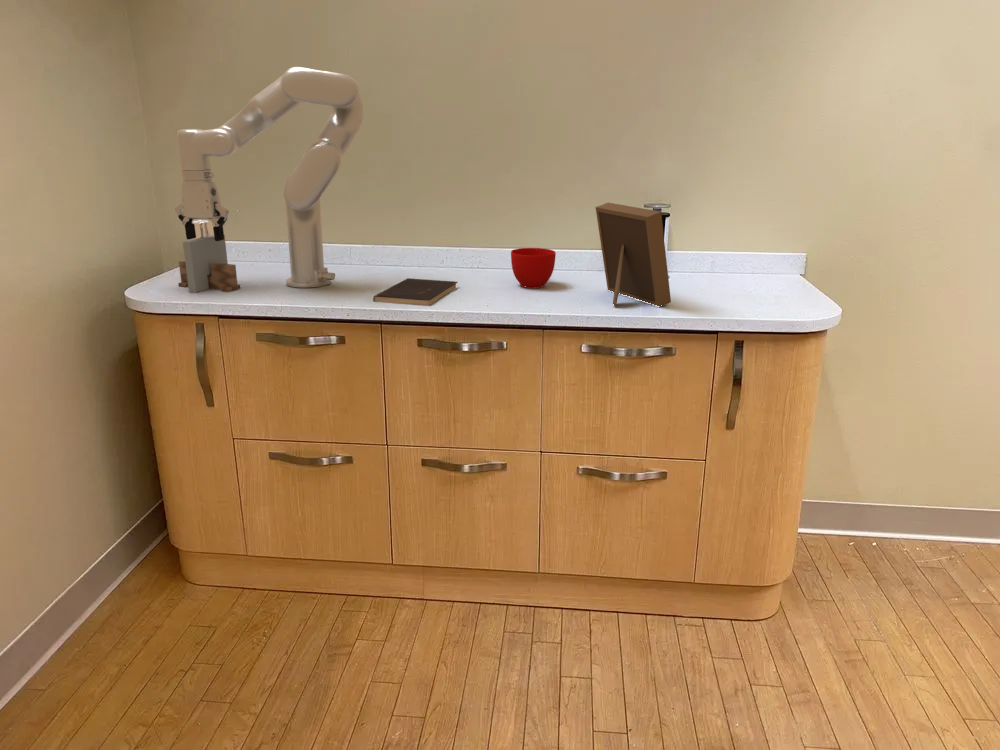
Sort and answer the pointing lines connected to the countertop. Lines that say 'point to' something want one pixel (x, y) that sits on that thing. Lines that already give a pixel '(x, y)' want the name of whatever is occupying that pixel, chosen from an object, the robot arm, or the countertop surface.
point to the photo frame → (634, 252)
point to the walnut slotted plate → (215, 276)
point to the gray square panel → (202, 260)
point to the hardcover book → (415, 291)
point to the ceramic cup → (532, 265)
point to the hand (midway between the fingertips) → (205, 239)
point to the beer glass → (203, 228)
